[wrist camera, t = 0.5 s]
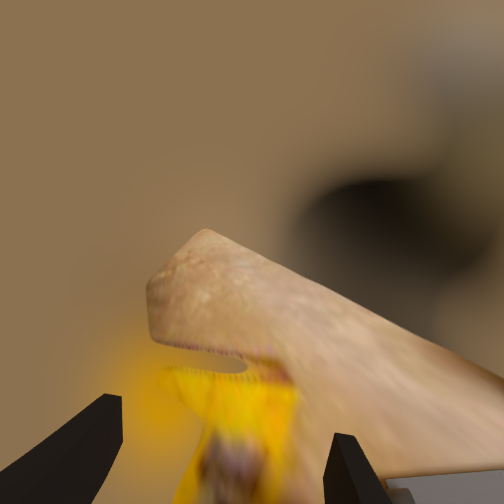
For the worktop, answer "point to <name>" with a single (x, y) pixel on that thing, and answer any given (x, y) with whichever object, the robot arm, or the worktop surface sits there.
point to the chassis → (449, 488)
